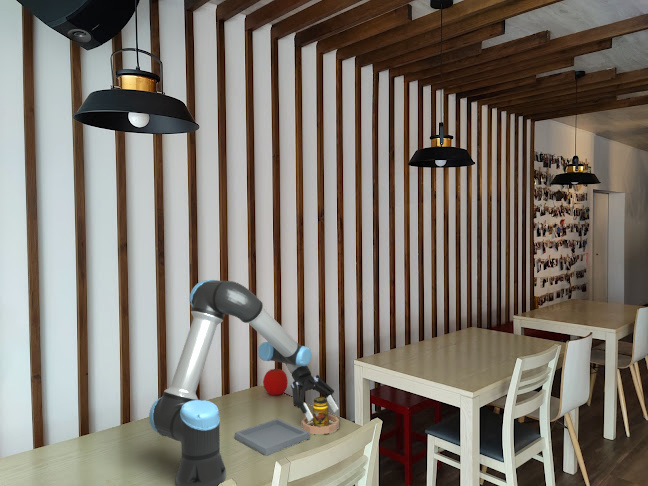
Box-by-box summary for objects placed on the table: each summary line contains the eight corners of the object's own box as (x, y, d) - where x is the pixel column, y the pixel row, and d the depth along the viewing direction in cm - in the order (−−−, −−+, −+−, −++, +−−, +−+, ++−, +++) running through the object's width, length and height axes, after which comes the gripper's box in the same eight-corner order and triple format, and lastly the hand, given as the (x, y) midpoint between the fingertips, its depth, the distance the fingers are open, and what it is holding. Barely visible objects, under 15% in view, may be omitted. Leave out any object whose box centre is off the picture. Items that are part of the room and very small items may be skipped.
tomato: (279, 389, 241) (278, 364, 241) (292, 394, 232) (292, 368, 232) (258, 394, 233) (257, 368, 233) (271, 400, 224) (270, 373, 224)
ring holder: (319, 438, 180) (318, 430, 180) (294, 427, 191) (294, 420, 191) (346, 427, 190) (346, 420, 190) (321, 418, 201) (321, 411, 201)
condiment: (317, 433, 185) (316, 402, 185) (307, 426, 193) (306, 396, 193) (333, 429, 189) (333, 399, 188) (323, 422, 196) (322, 393, 196)
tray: (265, 456, 167) (265, 448, 167) (234, 439, 181) (234, 432, 181) (309, 439, 180) (309, 432, 180) (277, 424, 195) (277, 418, 195)
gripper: (317, 369, 210) (342, 412, 199) (271, 381, 193) (295, 428, 182) (325, 359, 206) (350, 402, 195) (278, 370, 189) (304, 418, 178)
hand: (324, 415), depth 189 cm, fingers open, 13 cm apart
